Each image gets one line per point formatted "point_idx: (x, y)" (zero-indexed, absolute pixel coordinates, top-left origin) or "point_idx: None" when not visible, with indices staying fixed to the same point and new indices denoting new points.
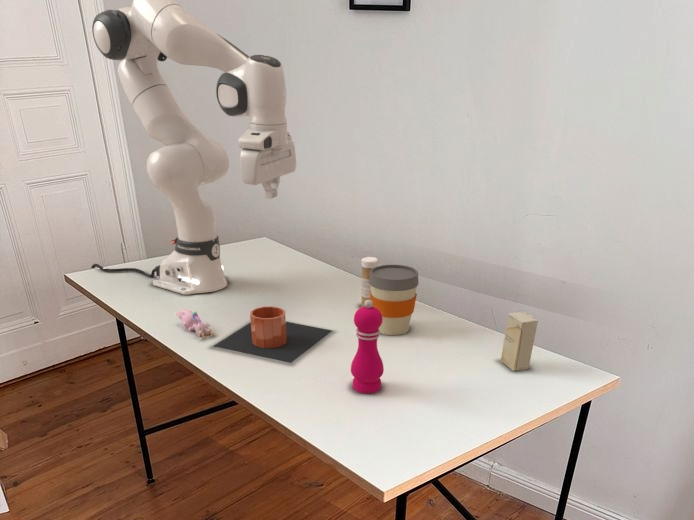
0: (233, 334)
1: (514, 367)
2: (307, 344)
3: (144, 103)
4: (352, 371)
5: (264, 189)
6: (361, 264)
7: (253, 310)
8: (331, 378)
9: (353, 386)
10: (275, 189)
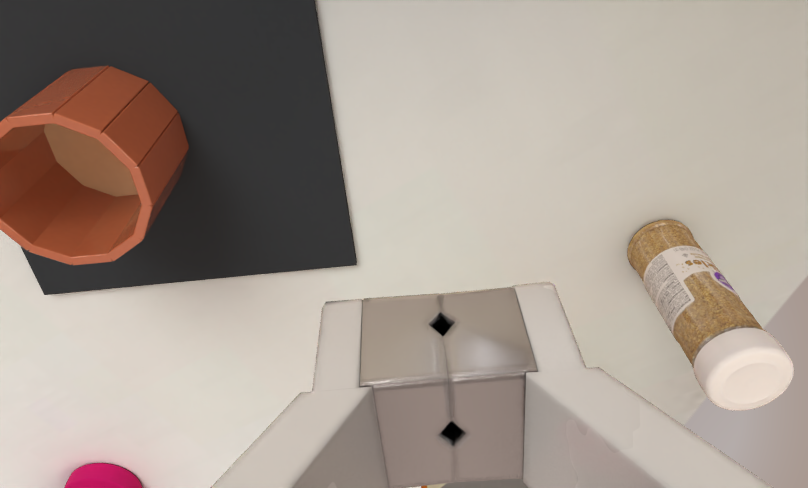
0: None
1: None
2: (196, 261)
3: None
4: None
5: (285, 413)
6: (721, 340)
7: (24, 123)
8: (75, 412)
9: (70, 477)
10: (532, 466)
